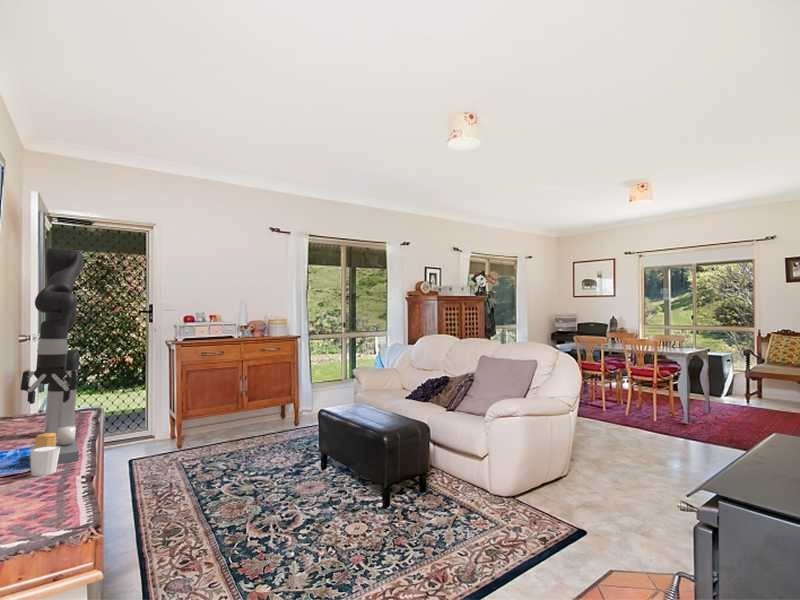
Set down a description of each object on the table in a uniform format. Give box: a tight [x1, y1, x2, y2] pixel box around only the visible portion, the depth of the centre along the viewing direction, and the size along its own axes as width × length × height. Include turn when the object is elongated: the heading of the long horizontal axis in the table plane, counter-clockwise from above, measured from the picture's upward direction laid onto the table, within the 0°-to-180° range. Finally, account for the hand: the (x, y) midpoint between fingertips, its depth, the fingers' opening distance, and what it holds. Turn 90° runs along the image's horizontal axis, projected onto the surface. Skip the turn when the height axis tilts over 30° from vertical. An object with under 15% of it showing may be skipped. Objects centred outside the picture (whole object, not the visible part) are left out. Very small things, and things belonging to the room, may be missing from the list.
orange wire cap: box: [34, 432, 57, 449], centre depth 135 cm, size 5×5×5 cm
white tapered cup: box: [30, 446, 60, 477], centre depth 126 cm, size 7×7×7 cm
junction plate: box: [28, 425, 80, 466], centre depth 139 cm, size 16×12×9 cm
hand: (48, 402), depth 138 cm, fingers open, 8 cm apart
